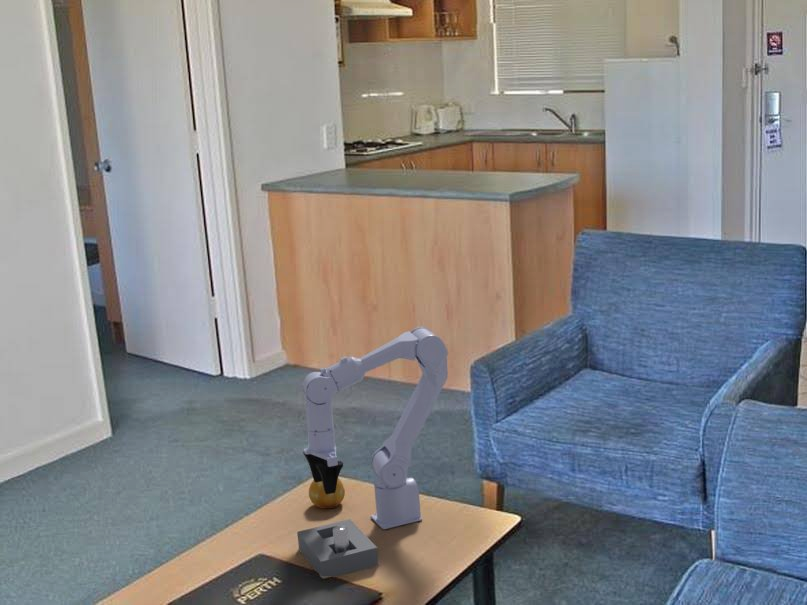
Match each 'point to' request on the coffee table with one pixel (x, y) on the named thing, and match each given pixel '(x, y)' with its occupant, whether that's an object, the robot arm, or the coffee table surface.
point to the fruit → (326, 495)
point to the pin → (341, 539)
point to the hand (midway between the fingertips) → (324, 487)
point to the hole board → (322, 551)
